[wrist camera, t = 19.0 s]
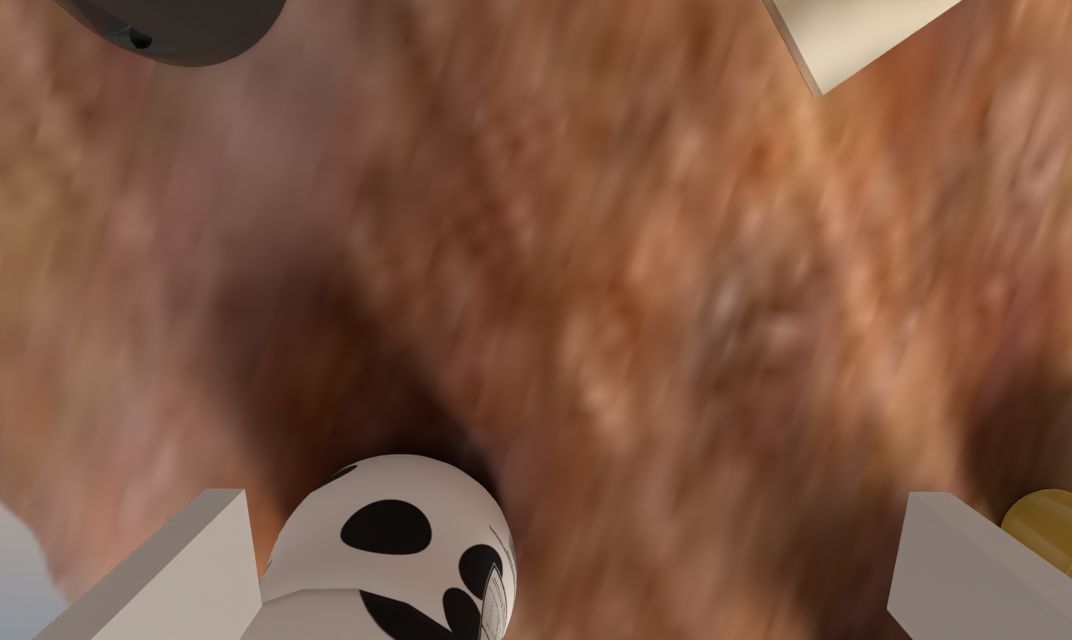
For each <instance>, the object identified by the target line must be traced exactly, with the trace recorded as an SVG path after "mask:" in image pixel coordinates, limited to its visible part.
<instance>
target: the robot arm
mask: <svg viewBox="0 0 1072 640" xmlns="http://www.w3.org/2000/svg"><path fill="white" fill-rule="evenodd" d="M53 1H55V2H56V3H57V4H58V5H59V6H61V7H62V8H63V9H64V10H66V11H67V12H68V13H69V14H70V15H72V16H73V17H74V18H75V19H76V20H78V21H79V22H80V23H81V24H83V25H84V26H85V27H86V28H88V29H89V30H91V31H92V32H94V33H95V34H97V35H98V36H100V37H102V38H103V39H105V40H107V41H109V42H110V43H112V44H114V45H116V46H118V47H121V48H123V49H125V50H128V51H130V52H133V53H136V54H138V55H141V56H144V57H146V58H149V59H152V60H155V61H158V62H161V63H165V64H170V65H175V66H184V67H198V66H208V65H213V64H217V63H221V62H224V61H227V60H229V59H232V58H234V57H236V56H238V55H240V54H242V53H243V52H245V51H246V50H248V49H249V48H251V47H252V46H253V45H254V44H256V43H257V42H258V41H259V40H260V39H261V38H262V37H263V36H264V35H265V34H266V33H267V32H268V30H269V29H270V28H271V26H272V25H273V24H274V22H275V21H276V19H277V18H278V16H279V14H280V12H281V10H282V8H283V6H284V4H285V2H286V0H53ZM261 607H262V602H261V595H260V588H259V582H258V575H257V568H256V562H255V555H254V548H253V541H252V535H251V528H250V521H249V515H248V508H247V501H246V494H245V489H205V490H204V491H203V492H202V493H201V494H199V495H198V496H197V497H196V498H195V499H194V500H192V501H191V502H190V503H189V504H188V505H187V506H186V507H184V508H183V509H182V510H181V511H180V512H179V513H177V514H176V515H175V516H174V517H173V518H172V519H171V520H169V521H168V522H167V523H166V524H165V525H164V526H162V527H161V528H160V529H159V530H158V531H157V532H156V533H154V534H153V535H152V536H151V537H150V538H149V539H147V540H146V541H145V542H144V543H143V544H142V545H141V546H139V547H138V548H137V549H136V550H135V551H134V552H132V553H131V554H130V555H129V556H128V557H127V558H125V559H124V560H123V561H122V562H121V563H120V564H119V565H117V566H116V567H115V568H114V569H113V570H112V571H110V572H109V573H108V574H107V575H106V576H105V577H104V578H102V579H101V580H100V581H99V582H98V583H97V584H95V585H94V586H93V587H92V588H91V589H90V590H89V591H87V592H86V593H85V594H84V595H83V596H82V597H80V598H79V599H78V600H77V601H76V602H75V603H74V604H72V605H71V606H70V607H69V608H68V609H67V610H65V611H64V612H63V613H62V614H61V615H60V616H59V617H57V618H56V619H55V620H54V621H53V622H52V623H50V624H49V625H48V626H47V627H46V628H45V629H44V630H42V631H41V632H40V633H39V634H38V635H37V636H35V637H34V638H33V639H32V640H239V639H240V638H241V636H242V635H243V633H244V632H245V630H246V629H247V627H248V626H249V624H250V623H251V622H252V620H253V619H254V617H255V616H256V614H257V613H258V611H259V610H260V608H261ZM887 610H888V611H889V612H890V614H891V615H892V616H893V617H894V618H895V619H896V621H897V622H898V623H899V624H900V625H901V626H902V628H903V629H904V630H905V631H906V632H907V633H908V635H909V636H910V637H911V638H912V639H913V640H1072V579H1071V578H1070V577H1069V576H1067V575H1066V574H1064V573H1063V572H1061V571H1060V570H1059V569H1057V568H1056V567H1054V566H1053V565H1052V564H1050V563H1049V562H1047V561H1046V560H1044V559H1043V558H1042V557H1040V556H1039V555H1037V554H1036V553H1035V552H1033V551H1032V550H1030V549H1029V548H1027V547H1026V546H1025V545H1023V544H1022V543H1020V542H1019V541H1018V540H1016V539H1015V538H1013V537H1012V536H1011V535H1009V534H1008V533H1006V532H1005V531H1003V530H1002V529H1001V528H999V527H998V526H996V525H995V524H994V523H992V522H991V521H989V520H988V519H986V518H985V517H984V516H982V515H981V514H979V513H978V512H977V511H975V510H974V509H972V508H971V507H969V506H968V505H967V504H965V503H964V502H962V501H961V500H960V499H958V498H957V497H955V496H954V495H952V494H951V493H950V492H910V493H909V498H908V503H907V508H906V514H905V519H904V524H903V529H902V534H901V539H900V544H899V549H898V554H897V559H896V564H895V569H894V574H893V579H892V584H891V589H890V594H889V599H888V604H887Z"/></svg>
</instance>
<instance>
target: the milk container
mask: <svg viewBox="0 0 1072 640" xmlns="http://www.w3.org/2000/svg"><path fill="white" fill-rule="evenodd" d="M516 581H517V568H516V557H515V550H514V545H513V540H512V536H511V532H510V529H509V526H508V523H507V521H506V518H505V516H504V514H503V512H502V510H501V509H500V507H499V506H498V504H497V503H496V501H495V500H494V499H493V497H492V496H491V495H490V494H489V493H488V492H487V490H486V489H485V488H484V487H483V486H482V485H481V484H479V483H478V482H477V481H476V480H474V479H473V478H472V477H470V476H469V475H467V474H466V473H465V472H463V471H462V470H460V469H458V468H457V467H455V466H453V465H450V464H448V463H445V462H442V461H439V460H436V459H433V458H429V457H426V456H421V455H412V454H394V455H382V456H376V457H372V458H368V459H365V460H361V461H358V462H356V463H354V464H351V465H349V466H347V467H345V468H343V469H342V470H340V471H338V472H337V473H335V474H334V475H332V476H331V477H330V478H328V479H327V480H326V481H324V482H323V483H322V484H321V485H319V486H318V487H317V488H316V489H315V490H314V491H312V492H311V493H310V494H309V495H308V496H307V497H306V498H305V499H304V500H303V501H302V503H301V504H300V505H299V506H298V507H297V508H296V510H295V511H294V512H293V513H292V515H291V516H290V518H289V519H288V520H287V522H286V524H285V525H284V527H283V529H282V531H281V532H280V534H279V536H278V538H277V540H276V543H275V545H274V547H273V550H272V552H271V555H270V558H269V561H268V564H267V567H266V570H265V573H264V575H263V577H262V579H261V580H260V582H259V588H260V595H261V602H262V607H261V608H260V610H259V611H258V613H257V614H256V616H255V617H254V619H253V620H252V622H251V623H250V624H249V626H248V627H247V629H246V630H245V632H244V633H243V635H242V636H241V638H240V639H239V640H502V638H503V636H504V634H505V631H506V628H507V626H508V623H509V620H510V617H511V614H512V610H513V605H514V600H515V594H516Z"/></svg>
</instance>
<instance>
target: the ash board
mask: <svg viewBox="0 0 1072 640" xmlns="http://www.w3.org/2000/svg"><path fill="white" fill-rule="evenodd" d="M959 1H961V0H763V2H764V4H765V5H766V7H767V9H768V11H769V13H770V15H771V17H772V19H773V21H774V22H775V24H776V26H777V28H778V30H779V32H780V34H781V36H782V38H783V39H784V41H785V43H786V45H787V47H788V49H789V51H790V53H791V55H792V57H793V58H794V60H795V62H796V64H797V66H798V68H799V70H800V72H801V74H802V75H803V77H804V79H805V81H806V83H807V85H808V87H809V89H810V91H811V93H812V94H813V96H814V98H817V97H819V96H822V95H824V94H825V93H827V92H828V91H830V90H831V89H833V88H834V87H836V86H837V85H838V84H840V83H841V82H843V81H844V80H846V79H847V78H849V77H850V76H852V75H853V74H855V73H856V72H857V71H859V70H860V69H862V68H863V67H865V66H866V65H868V64H869V63H871V62H872V61H873V60H875V59H876V58H878V57H879V56H881V55H882V54H884V53H885V52H887V51H888V50H890V49H891V48H892V47H894V46H895V45H897V44H898V43H900V42H901V41H903V40H904V39H906V38H907V37H908V36H910V35H911V34H913V33H914V32H916V31H917V30H919V29H920V28H922V27H923V26H924V25H926V24H927V23H929V22H930V21H932V20H933V19H935V18H936V17H938V16H939V15H941V14H942V13H943V12H945V11H946V10H948V9H949V8H951V7H952V6H954V5H955V4H957V3H958V2H959Z"/></svg>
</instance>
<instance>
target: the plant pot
mask: <svg viewBox="0 0 1072 640" xmlns="http://www.w3.org/2000/svg"><path fill="white" fill-rule="evenodd" d="M1001 529H1002V530H1003V531H1005V532H1006V533H1008V534H1009V535H1011V536H1012V537H1013V538H1015V539H1016V540H1018V541H1019V542H1020V543H1022V544H1023V545H1025V546H1026V547H1027V548H1029V549H1030V550H1032V551H1033V552H1035V553H1036V554H1037V555H1039V556H1040V557H1042V558H1043V559H1044V560H1046V561H1047V562H1049V563H1050V564H1052V565H1053V566H1054V567H1056V568H1057V569H1059V570H1060V571H1061V572H1063V573H1064V574H1066V575H1067V576H1069V577H1070V578H1071V579H1072V493H1071V492H1068V491H1065V490H1061V489H1043V490H1039V491H1035V492H1033V493H1030V494H1028V495H1026V496H1024V497H1023V498H1021V499H1020V500H1018V501H1017V502H1016V503H1015V504H1013V505H1012V507H1011V508H1010V509H1009V510H1008V511H1007V513H1006V514H1005V516H1004V518H1003V521H1002V524H1001Z"/></svg>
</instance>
